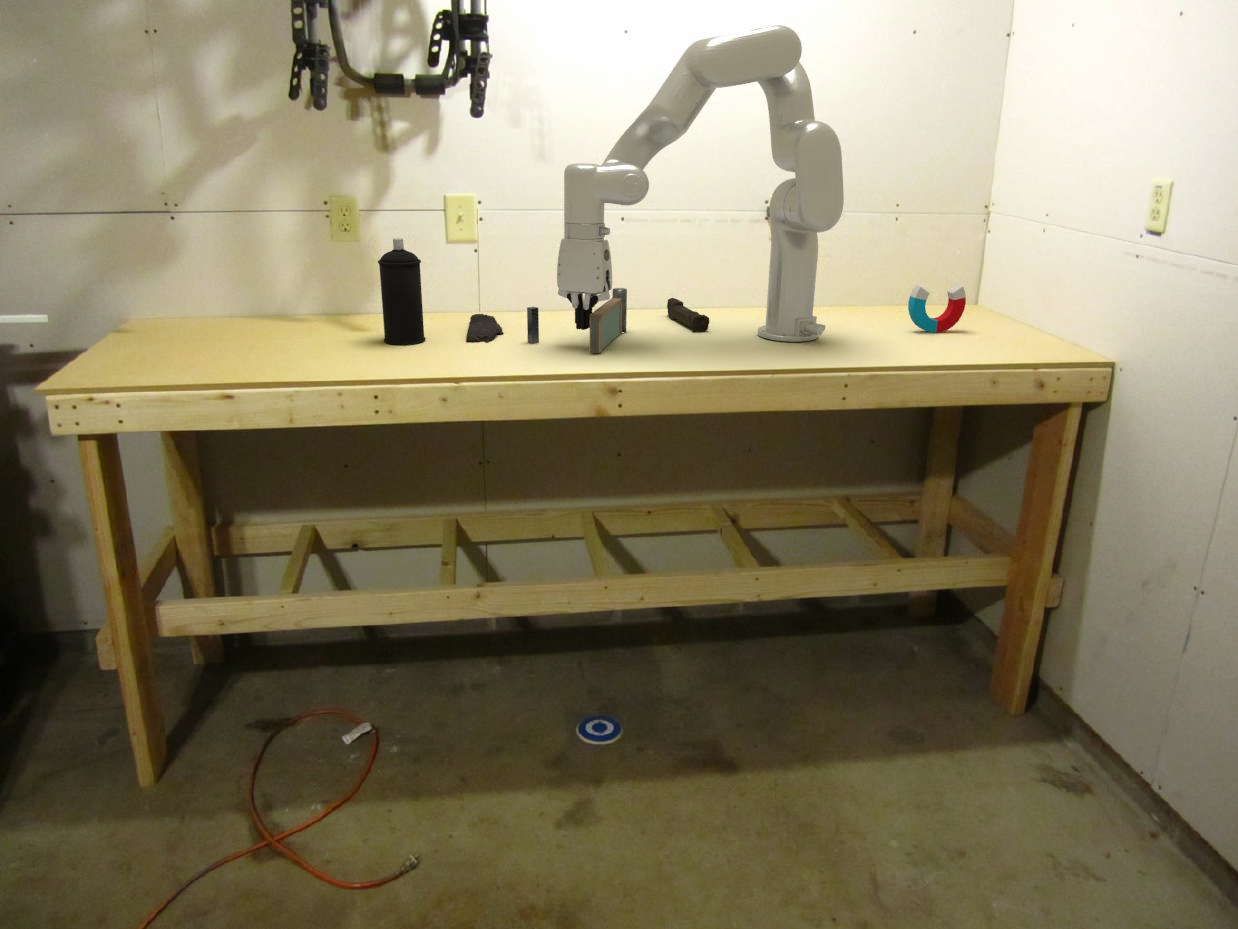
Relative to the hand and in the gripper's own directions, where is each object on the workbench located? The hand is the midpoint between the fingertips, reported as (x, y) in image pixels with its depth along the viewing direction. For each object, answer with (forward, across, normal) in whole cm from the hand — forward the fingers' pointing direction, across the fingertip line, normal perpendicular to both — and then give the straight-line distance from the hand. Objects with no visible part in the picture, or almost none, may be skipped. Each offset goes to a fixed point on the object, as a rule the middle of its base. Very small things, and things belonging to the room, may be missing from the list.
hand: (583, 328), depth 184 cm
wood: (+4, +25, -3) cm, 26 cm away
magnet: (+4, -60, -49) cm, 77 cm away
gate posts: (+4, +5, -8) cm, 10 cm away
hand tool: (+4, -9, -31) cm, 32 cm away
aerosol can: (+4, +34, +12) cm, 36 cm away
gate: (+3, -3, -5) cm, 6 cm away
